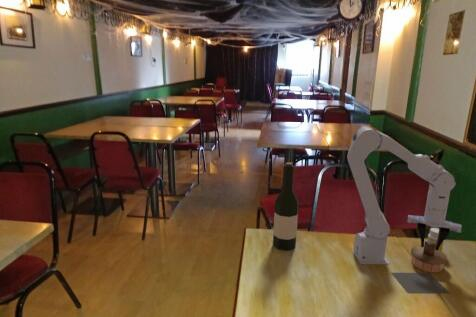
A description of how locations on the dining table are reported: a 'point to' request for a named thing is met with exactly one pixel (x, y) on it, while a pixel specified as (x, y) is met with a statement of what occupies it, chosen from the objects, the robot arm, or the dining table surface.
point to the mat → (419, 283)
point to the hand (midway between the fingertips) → (429, 247)
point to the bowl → (426, 265)
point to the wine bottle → (286, 213)
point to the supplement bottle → (434, 237)
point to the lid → (428, 254)
